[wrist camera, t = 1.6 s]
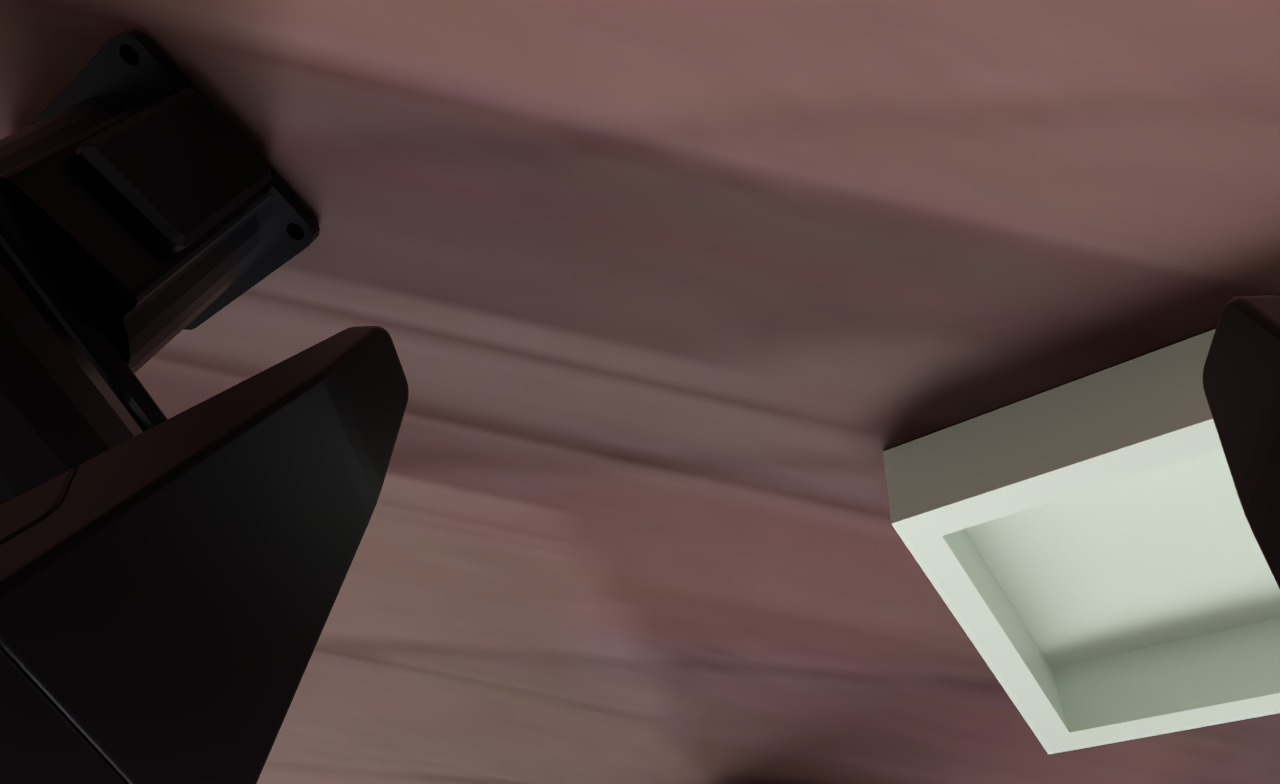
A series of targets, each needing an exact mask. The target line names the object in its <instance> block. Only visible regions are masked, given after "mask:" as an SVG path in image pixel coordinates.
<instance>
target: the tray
mask: <svg viewBox="0 0 1280 784" xmlns="http://www.w3.org/2000/svg"><path fill="white" fill-rule="evenodd" d="M1215 330H1216V329H1213V330H1211V331H1208V332H1205V333H1203V334H1200V335H1197V336H1194V337H1192V338H1189V339H1186V340H1184V341H1181V342H1178V343H1175V344H1173V345H1170V346H1167V347H1165V348H1162V349H1159V350H1157V351H1154V352H1151V353H1148V354H1146V355H1143V356H1140V357H1138V358H1135V359H1132V360H1129V361H1127V362H1124V363H1121V364H1119V365H1116V366H1113V367H1111V368H1108V369H1105V370H1102V371H1100V372H1097V373H1094V374H1092V375H1089V376H1086V377H1083V378H1081V379H1078V380H1075V381H1073V382H1070V383H1067V384H1065V385H1062V386H1059V387H1056V388H1054V389H1051V390H1048V391H1046V392H1043V393H1040V394H1037V395H1035V396H1032V397H1029V398H1027V399H1024V400H1021V401H1019V402H1016V403H1013V404H1010V405H1008V406H1005V407H1002V408H1000V409H997V410H994V411H991V412H989V413H986V414H983V415H981V416H978V417H975V418H973V419H970V420H967V421H964V422H962V423H959V424H956V425H954V426H951V427H948V428H945V429H943V430H940V431H937V432H935V433H932V434H929V435H927V436H924V437H921V438H918V439H916V440H913V441H910V442H908V443H905V444H902V445H899V446H897V447H894V448H891V449H889V450H886V451H883V457H884V466H885V475H886V483H887V492H888V501H889V509H890V518H891V524H892V526H893V527H894V529H895V530H896V531H897V533H898V534H899V536H900V537H901V539H902V540H903V542H904V543H905V545H906V546H907V548H908V549H909V551H910V552H911V553H912V555H913V556H914V558H915V559H916V561H917V562H918V564H919V565H920V567H921V568H922V570H923V571H924V573H925V574H926V575H927V577H928V578H929V580H930V581H931V583H932V584H933V586H934V587H935V589H936V590H937V592H938V593H939V595H940V596H941V597H942V599H943V600H944V602H945V603H946V605H947V606H948V608H949V609H950V611H951V612H952V614H953V615H954V617H955V618H956V619H957V621H958V622H959V624H960V625H961V627H962V628H963V630H964V631H965V633H966V634H967V636H968V637H969V639H970V640H971V641H972V643H973V644H974V646H975V647H976V649H977V650H978V652H979V653H980V655H981V656H982V658H983V659H984V661H985V662H986V663H987V665H988V666H989V668H990V669H991V671H992V672H993V674H994V675H995V677H996V678H997V680H998V681H999V682H1000V684H1001V685H1002V687H1003V688H1004V690H1005V691H1006V693H1007V694H1008V696H1009V697H1010V699H1011V700H1012V702H1013V703H1014V704H1015V706H1016V707H1017V709H1018V710H1019V712H1020V713H1021V715H1022V716H1023V718H1024V719H1025V721H1026V722H1027V724H1028V725H1029V726H1030V728H1031V729H1032V731H1033V732H1034V734H1035V735H1036V737H1037V738H1038V740H1039V741H1040V743H1041V744H1042V746H1043V747H1044V748H1045V750H1046V751H1047V753H1048V754H1054V753H1060V752H1066V751H1071V750H1077V749H1082V748H1088V747H1093V746H1099V745H1105V744H1110V743H1116V742H1121V741H1127V740H1132V739H1138V738H1143V737H1149V736H1155V735H1160V734H1166V733H1171V732H1177V731H1182V730H1188V729H1194V728H1199V727H1205V726H1210V725H1216V724H1221V723H1227V722H1233V721H1238V720H1244V719H1249V718H1255V717H1260V716H1266V715H1272V714H1277V713H1280V589H1279V587H1278V585H1277V583H1276V580H1275V578H1274V576H1273V574H1272V572H1271V570H1270V568H1269V566H1268V564H1267V562H1266V560H1265V558H1264V555H1263V553H1262V551H1261V549H1260V547H1259V545H1258V543H1257V541H1256V539H1255V537H1254V534H1253V532H1252V530H1251V528H1250V525H1249V523H1248V521H1247V519H1246V516H1245V514H1244V511H1243V509H1242V506H1241V503H1240V500H1239V498H1238V495H1237V492H1236V489H1235V486H1234V482H1233V479H1232V476H1231V473H1230V470H1229V467H1228V464H1227V461H1226V458H1225V454H1224V451H1223V448H1222V445H1221V442H1220V439H1219V436H1218V433H1217V430H1216V426H1215V423H1214V420H1213V417H1212V414H1211V411H1210V408H1209V405H1208V402H1207V399H1206V395H1205V392H1204V388H1203V368H1204V364H1205V361H1206V358H1207V355H1208V352H1209V349H1210V345H1211V342H1212V339H1213V336H1214V333H1215Z"/></svg>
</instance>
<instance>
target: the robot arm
mask: <svg viewBox="0 0 1280 784" xmlns="http://www.w3.org/2000/svg"><path fill="white" fill-rule="evenodd" d="M130 45H131V46H132V47H133V48H135V49H136V51H137V52H138V54H139V57H140V60H138V59H137V58H136V57H134V55H133V54H132V52H131V50H130ZM294 223H295V224H298V225H299V226H300V227H302V229H303V231H304V233H300V232H299V231H298V230H296V228H295V226H294ZM319 230H320V229H319V225H318V222H317V221H316V219H315V218H314V216H313V215H312V214H311V213H310V212H309V211H308V210H307V209H306V208H305V207H304V206H303V204H302V203H301V202H300V201H299V200H298V199H297V198H296V197H295V196H294V195H293V194H292V192H291V191H290V190H289V189H288V188H287V187H286V186H285V185H284V184H283V183H282V182H281V180H280V179H279V178H278V177H277V176H276V175H275V174H274V173H273V172H272V171H271V170H270V168H269V167H268V166H267V165H266V164H265V163H264V162H263V161H262V160H261V159H260V158H259V157H258V155H257V154H256V153H255V152H254V151H253V150H252V149H251V148H250V147H249V146H248V145H247V143H246V142H245V141H244V140H243V139H242V138H241V137H240V136H239V135H238V134H237V133H236V131H235V130H234V129H233V128H232V127H231V126H230V125H229V124H228V123H227V122H226V121H225V119H224V118H223V117H222V116H221V115H220V114H219V113H218V112H217V111H216V110H215V109H214V107H213V106H212V105H211V104H210V103H209V102H208V101H207V100H206V99H205V98H204V97H203V95H202V94H201V93H200V92H199V91H198V90H197V89H196V88H195V87H194V86H193V85H192V84H191V82H190V81H189V80H188V79H187V78H186V77H185V76H184V75H183V74H182V73H181V72H180V70H179V69H178V68H177V67H176V66H175V65H174V64H173V63H172V62H171V61H170V60H169V58H168V57H167V56H166V55H165V54H164V53H163V52H162V51H161V50H160V49H159V48H158V46H157V45H156V44H155V43H154V42H153V41H152V40H151V39H150V38H149V37H148V36H146V35H145V34H144V33H142V32H140V31H137V30H127V31H124V32H122V33H119V34H117V35H115V36H114V37H112V38H111V39H110V40H109V42H108V43H107V44H106V45H105V46H104V47H103V48H102V49H101V50H100V51H99V52H98V53H97V55H96V56H95V57H94V58H93V59H92V60H91V61H90V62H89V63H88V64H87V65H86V66H85V67H84V69H83V70H82V71H81V72H80V73H79V74H78V75H77V76H76V77H75V78H74V79H73V80H72V82H71V83H70V84H69V85H68V86H67V87H66V88H65V89H64V90H63V91H62V92H61V93H60V95H59V96H58V97H57V98H56V99H55V100H54V101H53V102H52V103H51V104H50V105H49V106H48V108H47V109H46V110H45V111H44V112H43V113H42V114H41V115H40V116H39V117H38V118H37V119H36V121H35V122H34V123H33V124H32V125H31V126H29V127H27V128H25V129H22V130H20V131H18V132H16V133H14V134H12V135H10V136H8V137H5V138H3V139H1V140H0V784H256V783H257V781H258V779H259V776H260V774H261V772H262V769H263V767H264V765H265V762H266V760H267V758H268V755H269V753H270V751H271V748H272V746H273V744H274V741H275V739H276V737H277V735H278V732H279V730H280V728H281V725H282V723H283V721H284V718H285V716H286V714H287V711H288V709H289V707H290V704H291V702H292V700H293V697H294V695H295V693H296V690H297V688H298V686H299V683H300V681H301V679H302V676H303V674H304V672H305V670H306V667H307V665H308V663H309V660H310V658H311V656H312V653H313V651H314V649H315V646H316V644H317V642H318V639H319V637H320V635H321V632H322V630H323V628H324V625H325V623H326V621H327V618H328V616H329V614H330V611H331V609H332V607H333V604H334V602H335V600H336V598H337V595H338V593H339V591H340V588H341V586H342V584H343V581H344V579H345V577H346V574H347V572H348V570H349V567H350V565H351V563H352V560H353V558H354V556H355V553H356V551H357V549H358V546H359V544H360V542H361V539H362V537H363V535H364V532H365V530H366V528H367V526H368V523H369V521H370V518H371V516H372V513H373V511H374V508H375V506H376V503H377V500H378V497H379V494H380V491H381V489H382V486H383V482H384V479H385V476H386V472H387V469H388V466H389V462H390V459H391V456H392V452H393V449H394V446H395V442H396V439H397V436H398V432H399V429H400V426H401V422H402V419H403V416H404V412H405V409H406V406H407V402H408V384H407V380H406V377H405V374H404V372H403V369H402V366H401V363H400V361H399V358H398V355H397V352H396V350H395V347H394V344H393V341H392V339H391V337H390V335H389V333H388V332H387V331H386V330H385V329H384V328H382V327H379V326H363V327H351V328H348V329H345V330H343V331H342V332H340V333H338V334H336V335H334V336H332V337H330V338H328V339H326V340H324V341H322V342H320V343H318V344H316V345H314V346H312V347H310V348H308V349H306V350H304V351H302V352H300V353H298V354H296V355H294V356H292V357H290V358H288V359H286V360H284V361H282V362H280V363H278V364H276V365H274V366H273V367H271V368H269V369H267V370H265V371H263V372H261V373H259V374H257V375H255V376H253V377H251V378H249V379H247V380H245V381H243V382H241V383H239V384H237V385H235V386H233V387H231V388H229V389H227V390H225V391H223V392H221V393H219V394H217V395H215V396H213V397H211V398H209V399H207V400H206V401H204V402H202V403H200V404H198V405H196V406H194V407H192V408H190V409H188V410H186V411H184V412H182V413H180V414H178V415H176V416H174V417H172V418H170V419H167V418H166V416H165V415H164V414H163V412H162V411H161V410H160V408H159V407H158V405H157V404H156V403H155V401H154V400H153V399H152V397H151V396H150V394H149V393H148V392H147V390H146V389H145V388H144V386H143V385H142V383H141V382H140V381H139V379H138V378H137V377H136V375H135V374H134V373H135V372H137V371H138V370H139V369H140V368H141V367H142V366H143V365H144V364H145V363H146V362H147V361H149V360H150V359H151V358H152V357H153V356H154V355H155V354H156V353H157V352H158V351H160V350H161V349H162V348H163V347H164V346H165V345H166V344H167V343H168V342H169V341H171V340H172V339H173V338H174V337H175V336H176V335H177V334H178V333H179V332H180V331H181V330H183V329H187V330H191V329H194V328H196V327H197V326H199V325H200V324H202V323H203V322H204V321H206V320H207V319H208V318H210V317H211V316H213V315H214V314H215V313H217V312H218V311H219V310H221V309H222V308H224V307H225V306H226V305H228V304H229V303H231V302H232V301H233V300H235V299H236V298H237V297H239V296H240V295H242V294H243V293H244V292H246V291H247V290H248V289H250V288H251V287H253V286H254V285H255V284H257V283H258V282H259V281H261V280H262V279H264V278H265V277H266V276H268V275H269V274H271V273H272V272H273V271H275V270H276V269H277V268H279V267H280V266H282V265H283V264H284V263H286V262H287V261H288V260H290V259H291V258H293V257H294V256H295V255H297V254H298V253H300V252H301V251H302V250H304V249H305V248H306V247H308V246H309V245H310V244H311V243H312V242H313V241H314V240H315V239H316V238H317V237H318V235H319ZM1203 388H1204V392H1205V395H1206V399H1207V402H1208V405H1209V408H1210V411H1211V414H1212V417H1213V420H1214V423H1215V426H1216V430H1217V433H1218V436H1219V439H1220V442H1221V445H1222V448H1223V451H1224V454H1225V458H1226V461H1227V464H1228V467H1229V470H1230V473H1231V476H1232V479H1233V482H1234V486H1235V489H1236V492H1237V495H1238V498H1239V500H1240V503H1241V506H1242V509H1243V511H1244V514H1245V516H1246V519H1247V521H1248V523H1249V525H1250V528H1251V530H1252V532H1253V534H1254V537H1255V539H1256V541H1257V543H1258V545H1259V547H1260V549H1261V551H1262V553H1263V555H1264V558H1265V560H1266V562H1267V564H1268V566H1269V568H1270V570H1271V572H1272V574H1273V576H1274V578H1275V580H1276V583H1277V585H1278V587H1279V589H1280V296H1275V295H1268V296H1241V297H1235V298H1233V299H1231V300H1230V301H1228V302H1227V303H1226V305H1225V306H1224V308H1223V309H1222V312H1221V314H1220V317H1219V320H1218V323H1217V327H1216V330H1215V333H1214V336H1213V339H1212V342H1211V345H1210V349H1209V352H1208V355H1207V358H1206V361H1205V364H1204V368H1203Z"/></svg>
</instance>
